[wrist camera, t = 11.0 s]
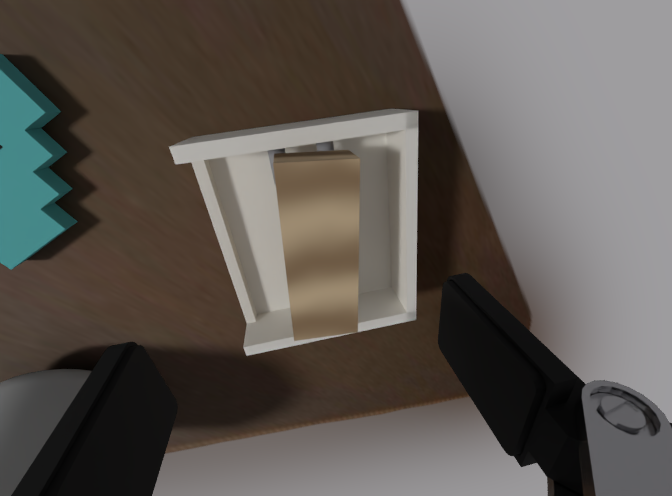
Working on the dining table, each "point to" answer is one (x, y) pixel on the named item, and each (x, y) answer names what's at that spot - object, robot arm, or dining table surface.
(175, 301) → the dining table surface
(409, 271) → the carcass
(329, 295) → the shelf board
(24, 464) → the jar
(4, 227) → the alien figure
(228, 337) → the dining table surface
